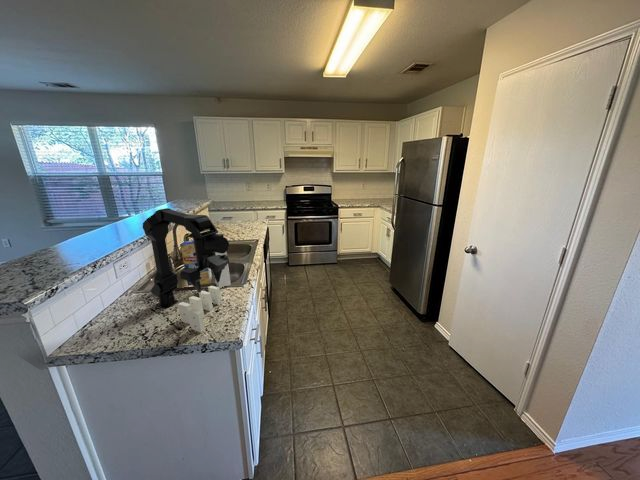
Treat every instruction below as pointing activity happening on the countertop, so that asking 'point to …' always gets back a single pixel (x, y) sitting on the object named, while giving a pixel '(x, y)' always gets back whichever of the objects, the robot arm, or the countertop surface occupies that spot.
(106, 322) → the countertop surface
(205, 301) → the domino
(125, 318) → the countertop surface
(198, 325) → the domino
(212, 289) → the domino
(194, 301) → the domino
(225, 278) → the milk
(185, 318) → the domino
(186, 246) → the blue cardboard box
